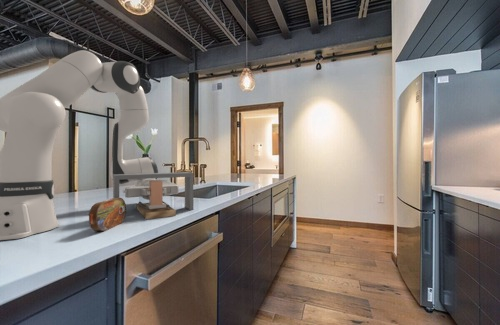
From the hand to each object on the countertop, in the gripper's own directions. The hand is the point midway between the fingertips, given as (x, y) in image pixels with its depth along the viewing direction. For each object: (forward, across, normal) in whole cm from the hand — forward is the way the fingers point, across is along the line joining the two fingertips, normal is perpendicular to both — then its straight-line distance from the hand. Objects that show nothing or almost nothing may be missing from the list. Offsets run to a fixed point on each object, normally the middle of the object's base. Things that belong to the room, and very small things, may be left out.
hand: (156, 192), depth 90 cm
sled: (-1, 0, +5) cm, 6 cm away
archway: (-2, 0, +8) cm, 8 cm away
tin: (+12, -16, +8) cm, 21 cm away
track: (-3, 0, +8) cm, 8 cm away
